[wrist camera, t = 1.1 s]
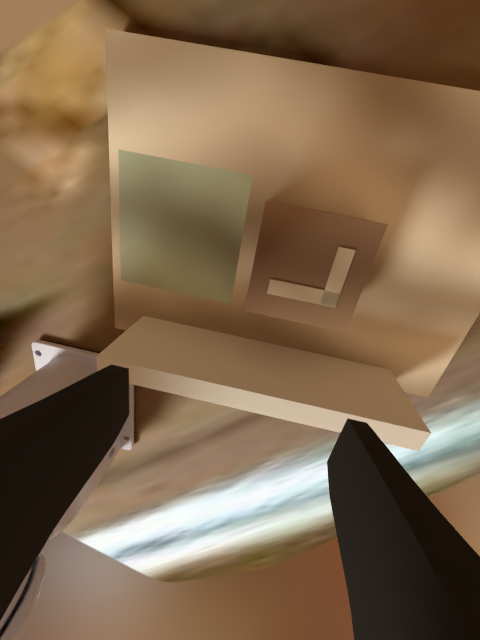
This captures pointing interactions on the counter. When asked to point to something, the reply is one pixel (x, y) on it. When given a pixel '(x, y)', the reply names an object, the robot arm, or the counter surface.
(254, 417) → the counter surface
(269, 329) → the birch board
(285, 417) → the beige rectangular slab
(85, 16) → the counter surface
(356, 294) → the walnut block
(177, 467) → the counter surface
